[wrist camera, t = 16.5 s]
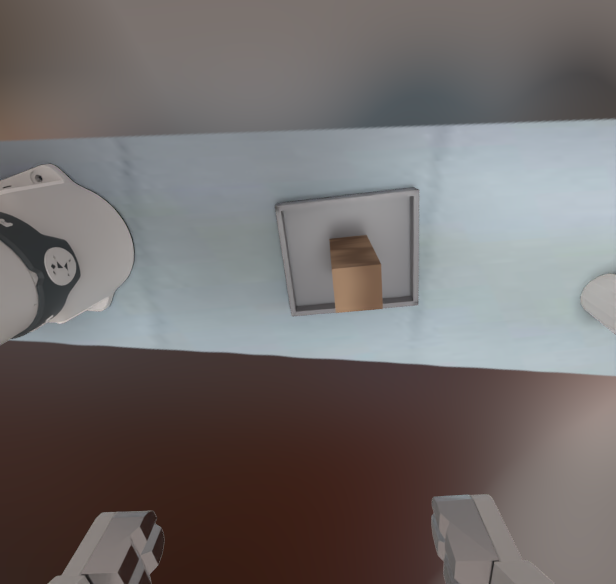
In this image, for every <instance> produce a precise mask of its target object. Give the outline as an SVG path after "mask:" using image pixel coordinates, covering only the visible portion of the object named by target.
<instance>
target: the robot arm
mask: <svg viewBox="0 0 616 584" xmlns="http://www.w3.org/2000/svg"><path fill="white" fill-rule="evenodd" d="M40 176H41V177H42V181H41V179H40ZM133 261H134V249H133V243H132V239H131V236H130V233H129V231H128V228H127V226H126V225H125V223H124V221H123V220H122V218H121V217H120V215H119V214H118V213H117V212H116V210H115V209H114V208H113V207H112V206H111V205H110V204H109V203H108V202H106V201H105V200H104V199H103V198H101V197H100V196H98V195H97V194H95V193H93V192H92V191H90V190H87V189H85V188H83V187H81V186H79V185H77V184H76V183H74V182H73V181H72V180H71V179H70V178H69V177H68V176H67V175H66V174H65V173H64V172H62V171H61V170H60V169H59V168H58V167H56V166H55V165H52V164H44V165H40V166H37V167H35V168H32V169H29V170H27V171H24V172H22V173H19V174H17V175H14V176H12V177H9V178H6V179H4V180H1V181H0V345H1V344H3V343H5V342H6V341H8V340H9V339H13V338H18V337H21V336H23V335H25V334H27V333H29V332H32V331H34V330H36V329H38V328H40V327H41V326H43V325H45V324H46V323H47V322H50V323H55V322H56V323H58V324H62V323H65V322H67V321H69V320H71V319H72V318H74V317H76V316H78V315H79V314H81V313H83V312H85V311H103V310H105V309H107V308H108V307H109V306H110V304H111V302H112V298H113V295H114V292H115V291H116V289H117V288H118V287H119V286H120V285H121V284H123V283H124V281H125V280H126V279H127V277H128V276H129V274H130V272H131V269H132V266H133ZM432 508H433V511H434V514H433V515H432V517H431V518H432V519H431V525H432V533H433V538H434V543H435V547H436V550H437V554H438V556H439V557H440V558H441V559H442V560H443V561H444V571H443V573H444V578H445V582H446V584H555V583H554V582H553V581H551V580H550V579H549V578H548V577H547V576H546V575H545V574H544V573H543V572H541V571H540V570H539V569H538V568H537V567H536V566H535V565H534V564H533V563H531V562H530V561H523V559H522V557H521V555H520V553H519V551H518V549H517V547H516V545H515V543H514V541H513V539H512V537H511V535H510V533H509V531H508V529H507V527H506V525H505V523H504V521H503V518H502V516H501V514H500V512H499V510H498V508H497V507H496V504H495V502H494V500H493V498H492V497H490V495H488V494H482V495H457V496H442V497H433V499H432ZM156 519H157V517H156V515H155V513H154V511H138V512H137V511H136V512H107V513H101V514H100V515H99V516H98V517H97V518H96V519H95V521H94V523H93V524H92V526H91V528H90V529H89V531H88V533H87V534H86V536H85V537H84V539H83V541H82V542H81V544H80V546H79V547H78V549H77V551H76V552H75V554H74V556H73V557H72V559H71V561H70V562H69V564H68V566H67V567H66V569H65V571H64V572H63V574H62V575H61V576H56V577H55V578H54V579H53V580H51V581H50V582H49V583H48V584H151V579H150V573H151V572H152V571H153V570H154V569H155V568H156V567H157V566H158V564H159V561H160V559H161V556H162V553H163V547H164V533H163V531H162V528H161V527H159V526H158V525H156V524H155V522H156Z"/></svg>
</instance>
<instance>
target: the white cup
mask: <svg viewBox="0 0 616 584" xmlns="http://www.w3.org/2000/svg"><path fill="white" fill-rule="evenodd" d="M581 305H582V306H583V308H584V309H585V310H586V311H587V312H588V313H590V314H591V315H592V316H593V317H594V318H596V319H597V320H598V321H599V322H601V323H602V324H603V325H604V326H606V327H607V328H608V329H609V330H610V331H612V332H613V333H614V334H615V335H616V274H605V275H601V276H598V277H597V278H595V279H593V280H592V281H590V282H589V283H588V285H587V286H586V287H585V288H584V290H583V292H582V294H581Z"/></svg>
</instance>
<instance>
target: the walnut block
mask: <svg viewBox="0 0 616 584" xmlns="http://www.w3.org/2000/svg"><path fill="white" fill-rule="evenodd" d="M329 242H330V254H331V267H332V277H333V288H334V298H335V309H336V313H339V312H351V311H362V310H374V309H383V301H382V272H381V263H380V261H379V259H378V257H377V255H376V253H375V251H374V249H373V247H372V245H371V243H370V241H369V239H368V237H367V235H361V236H351V237H342V238H332V239H329Z"/></svg>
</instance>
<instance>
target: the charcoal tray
mask: <svg viewBox="0 0 616 584" xmlns="http://www.w3.org/2000/svg"><path fill="white" fill-rule="evenodd" d="M275 211H276V217H277V224H278V230H279V237H280V243H281V250H282V256H283V263H284V269H285V276H286V282H287V289H288V295H289V302H290V309H291V315H292V316H302V315H313V314H324V313H336V309H335V298H334V288H333V277H332V267H331V254H330V242H329V239H332V238H342V237H351V236H361V235H367V237H368V239H369V241H370V243H371V245H372V247H373V249H374V251H375V253H376V255H377V257H378V259H379V261H380V263H381V272H382V301H383V308H392V307H403V306H414V305H418V282H419V189H417V188H414V187H412V188H403V189H395V190H386V191H377V192H369V193H360V194H351V195H343V196H334V197H325V198H317V199H308V200H300V201H291V202H282V203H277V204H276V206H275Z"/></svg>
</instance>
